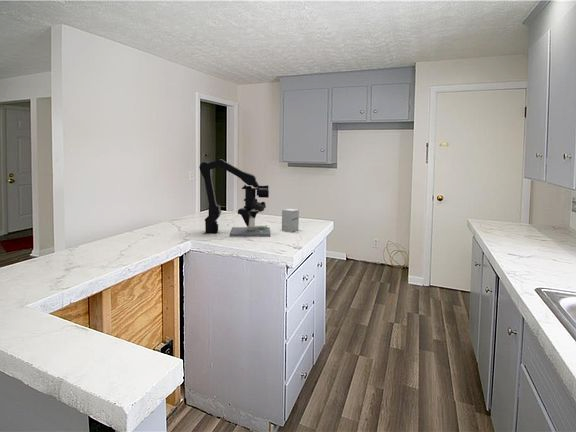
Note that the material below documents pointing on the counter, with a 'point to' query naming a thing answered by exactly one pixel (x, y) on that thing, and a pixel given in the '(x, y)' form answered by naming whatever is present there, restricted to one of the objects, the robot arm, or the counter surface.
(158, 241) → the counter surface
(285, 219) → the supplement box
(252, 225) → the tuning peg
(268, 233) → the dial plate
